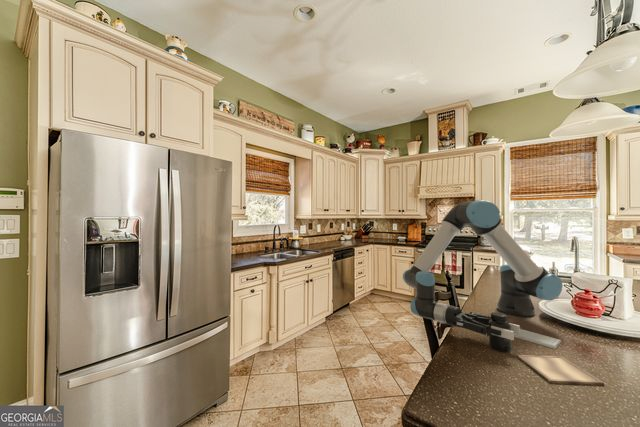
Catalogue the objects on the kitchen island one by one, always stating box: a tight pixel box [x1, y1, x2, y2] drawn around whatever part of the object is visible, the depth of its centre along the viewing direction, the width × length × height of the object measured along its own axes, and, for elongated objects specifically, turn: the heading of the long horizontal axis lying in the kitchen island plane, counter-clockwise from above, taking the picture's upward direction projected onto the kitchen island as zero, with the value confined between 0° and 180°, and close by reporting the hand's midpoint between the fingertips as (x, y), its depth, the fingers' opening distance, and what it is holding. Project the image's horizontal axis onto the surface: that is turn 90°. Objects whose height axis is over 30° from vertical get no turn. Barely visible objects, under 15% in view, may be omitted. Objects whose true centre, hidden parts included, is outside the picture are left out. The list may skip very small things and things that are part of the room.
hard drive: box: [514, 328, 562, 350], centre depth 101 cm, size 2×8×12 cm
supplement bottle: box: [487, 311, 513, 353], centre depth 95 cm, size 7×7×12 cm
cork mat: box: [516, 354, 605, 386], centre depth 81 cm, size 14×14×1 cm
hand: (516, 332), depth 91 cm, fingers closed on supplement bottle, 7 cm apart
